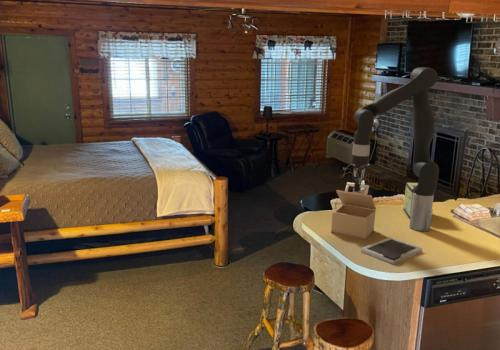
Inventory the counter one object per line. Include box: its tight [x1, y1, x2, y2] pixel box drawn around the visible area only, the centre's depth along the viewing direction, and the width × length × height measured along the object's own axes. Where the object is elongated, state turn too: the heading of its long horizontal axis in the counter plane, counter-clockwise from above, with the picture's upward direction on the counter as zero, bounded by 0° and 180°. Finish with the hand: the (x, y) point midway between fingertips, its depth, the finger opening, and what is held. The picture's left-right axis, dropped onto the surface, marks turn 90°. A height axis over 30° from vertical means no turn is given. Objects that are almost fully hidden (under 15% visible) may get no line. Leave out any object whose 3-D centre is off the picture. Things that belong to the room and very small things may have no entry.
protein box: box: [403, 181, 418, 220], centre depth 245 cm, size 10×16×16 cm
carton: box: [330, 203, 377, 241], centre depth 220 cm, size 16×14×10 cm
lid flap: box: [335, 181, 377, 210], centre depth 220 cm, size 16×14×7 cm
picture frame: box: [360, 236, 423, 265], centre depth 199 cm, size 16×3×21 cm
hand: (357, 190), depth 219 cm, fingers closed on lid flap
